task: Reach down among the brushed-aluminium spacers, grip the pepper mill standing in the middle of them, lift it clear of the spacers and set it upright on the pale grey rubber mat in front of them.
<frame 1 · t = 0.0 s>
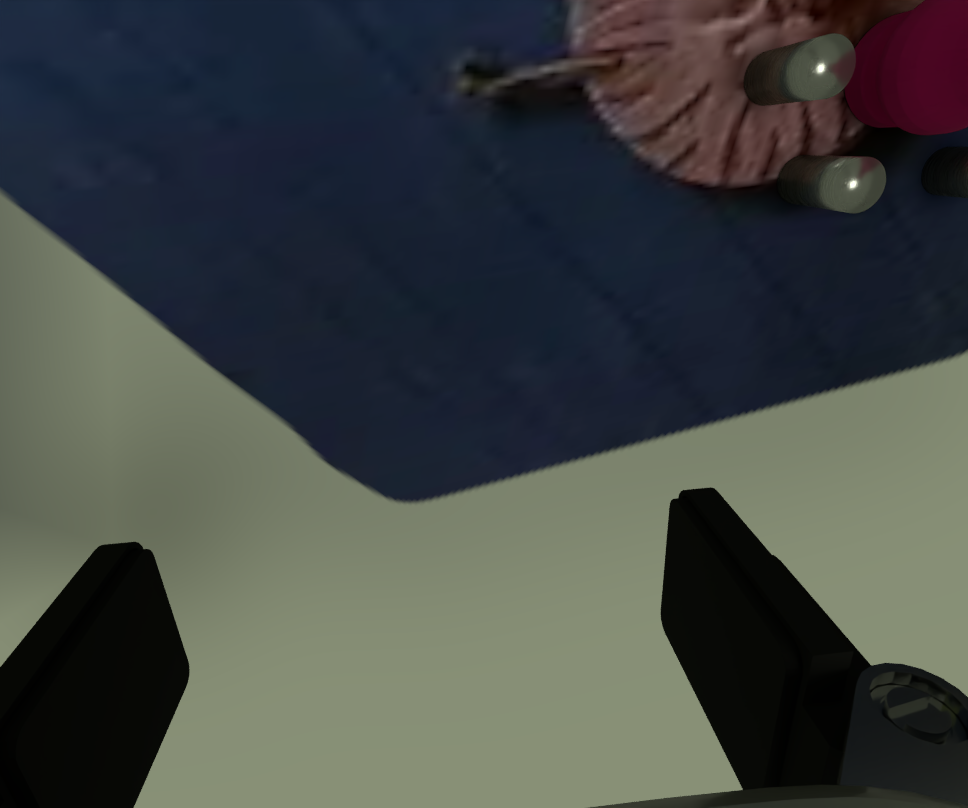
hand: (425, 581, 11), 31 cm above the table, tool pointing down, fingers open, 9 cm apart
pepper mill: (889, 72, 38), on the table
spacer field: (891, 72, 38), on the table
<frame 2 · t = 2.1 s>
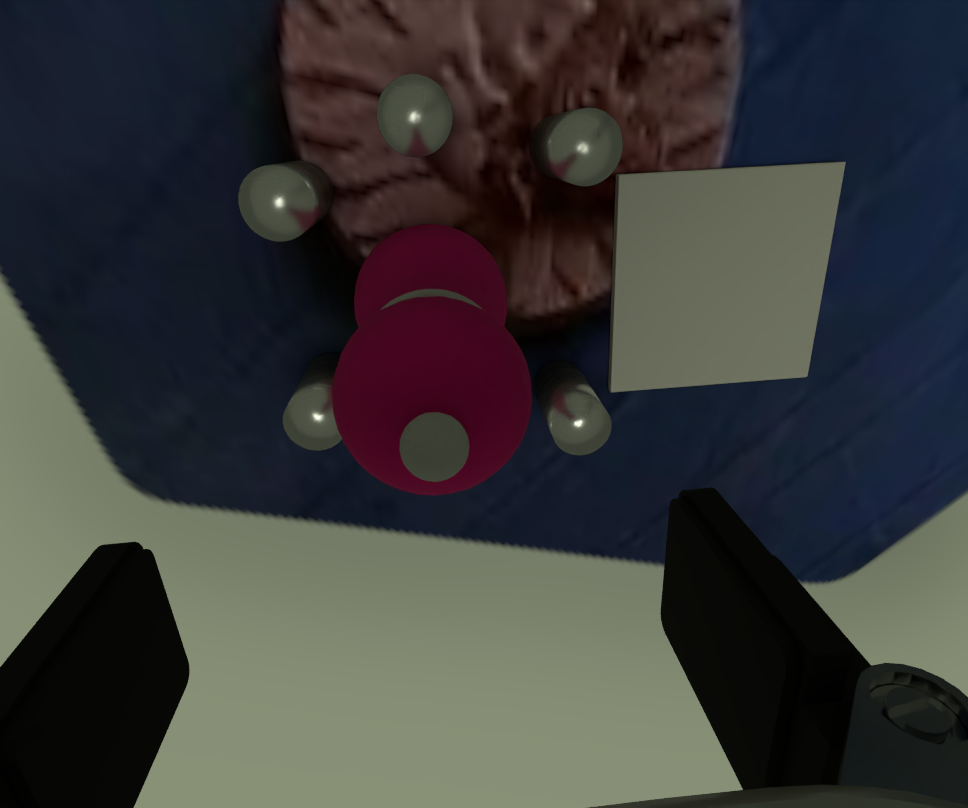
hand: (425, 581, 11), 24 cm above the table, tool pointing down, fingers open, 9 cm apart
pepper mill: (431, 282, 33), on the table
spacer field: (431, 283, 33), on the table
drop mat: (716, 281, 34), on the table
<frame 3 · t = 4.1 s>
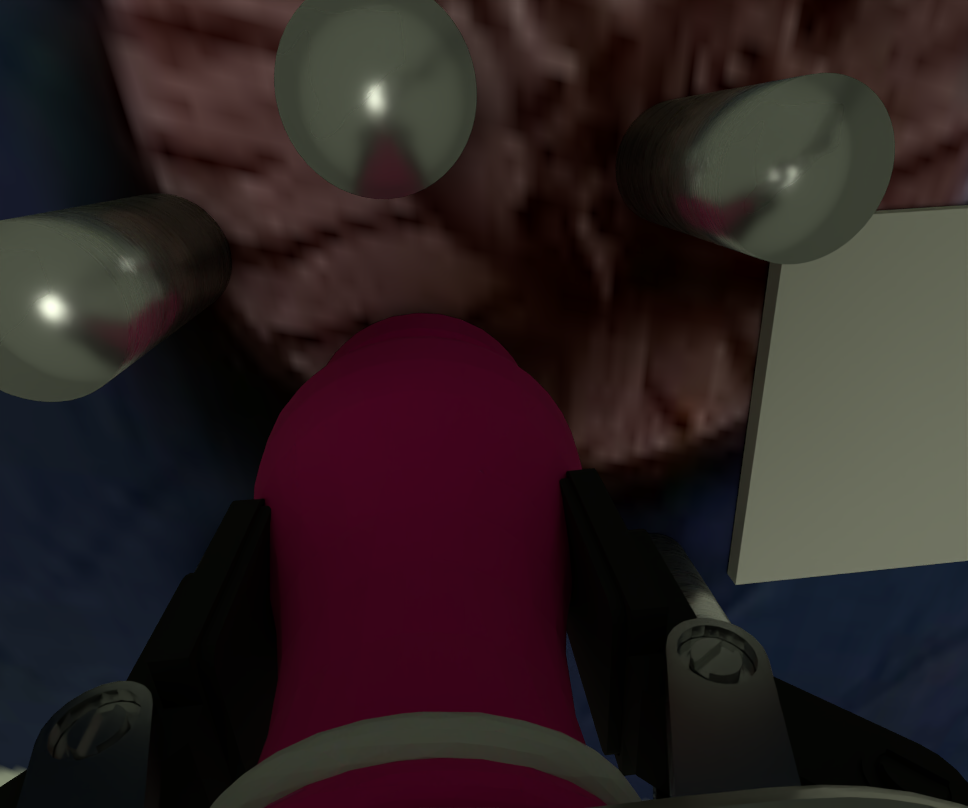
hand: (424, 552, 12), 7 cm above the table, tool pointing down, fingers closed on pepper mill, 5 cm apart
pepper mill: (424, 412, 18), on the table, touching gripper
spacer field: (423, 415, 18), on the table
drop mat: (931, 402, 19), on the table
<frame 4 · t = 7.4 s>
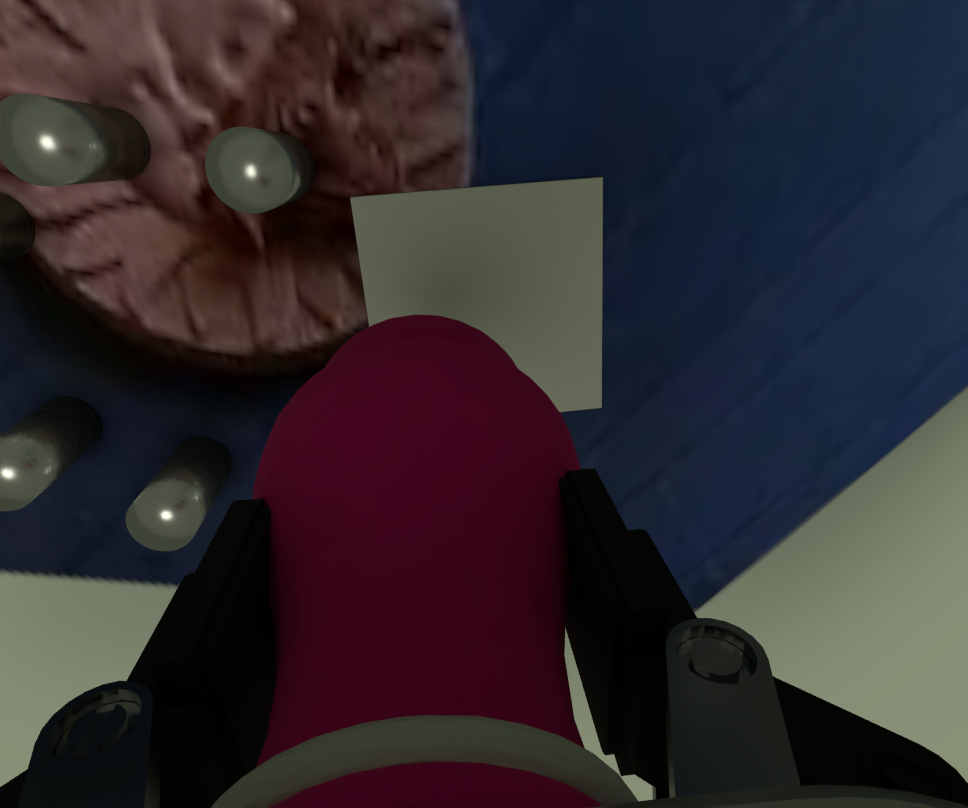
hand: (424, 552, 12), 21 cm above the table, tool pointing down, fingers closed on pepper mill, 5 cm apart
pepper mill: (423, 413, 18), point 14 cm above the table, touching gripper
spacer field: (163, 319, 30), on the table
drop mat: (485, 309, 31), on the table
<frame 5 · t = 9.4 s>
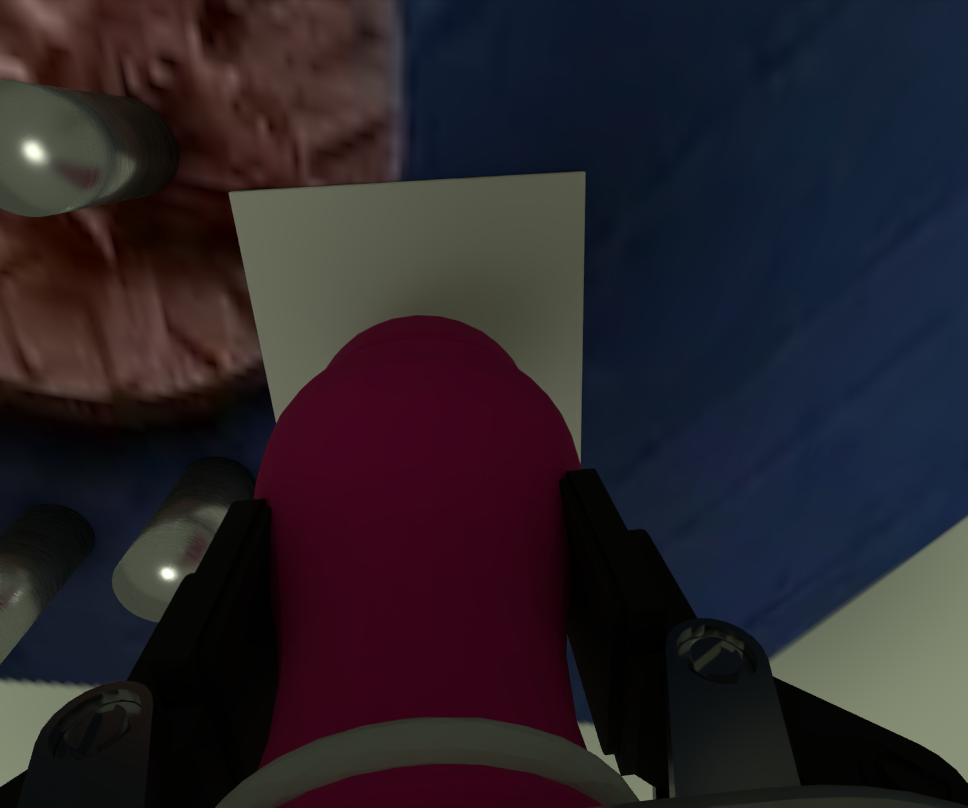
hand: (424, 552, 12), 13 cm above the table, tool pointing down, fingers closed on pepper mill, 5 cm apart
pepper mill: (423, 414, 18), point 6 cm above the table, touching gripper
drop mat: (425, 346, 23), on the table
when the fingers open (8 cm above the table, at t = 10.7 s): pepper mill drops 1 cm, resting on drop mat.
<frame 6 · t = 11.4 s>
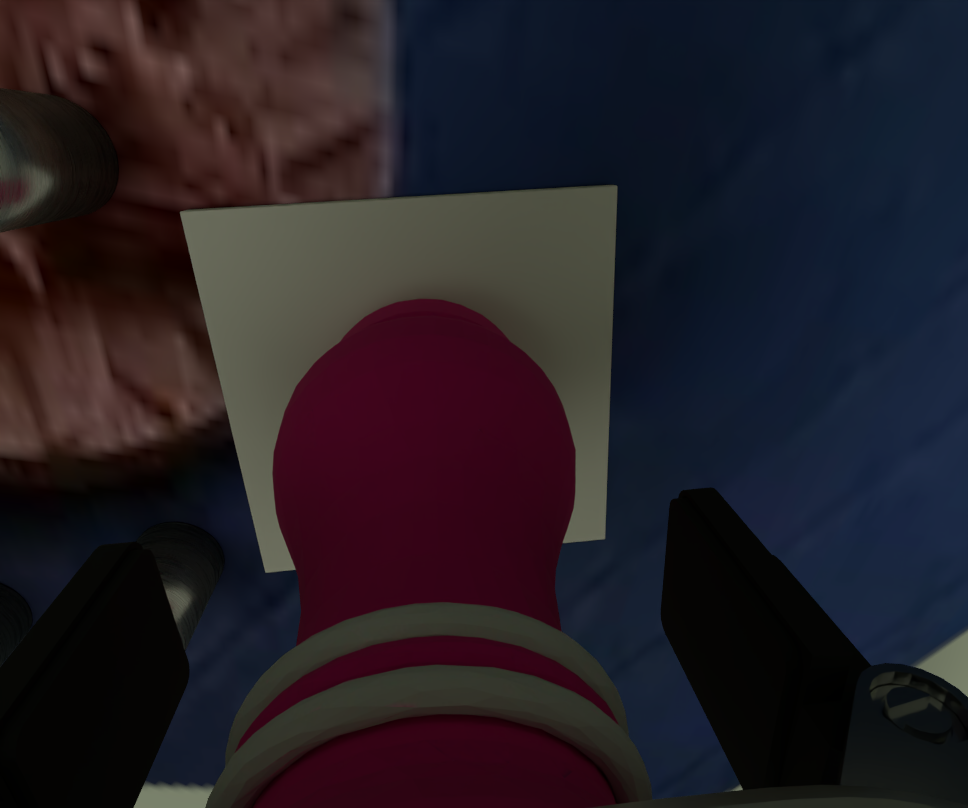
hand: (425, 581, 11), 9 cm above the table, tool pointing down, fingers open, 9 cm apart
pepper mill: (426, 393, 19), resting on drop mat
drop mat: (423, 392, 20), on the table
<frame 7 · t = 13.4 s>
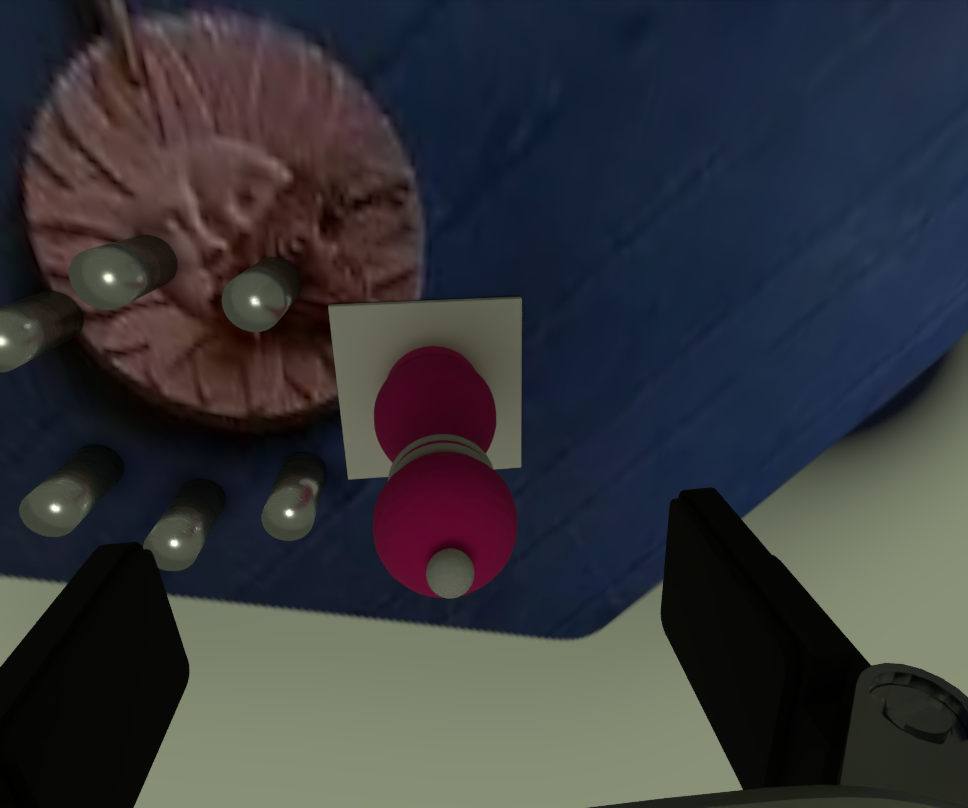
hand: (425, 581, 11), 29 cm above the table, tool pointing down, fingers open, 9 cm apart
pepper mill: (432, 389, 40), resting on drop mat
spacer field: (178, 389, 39), on the table
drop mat: (431, 389, 40), on the table
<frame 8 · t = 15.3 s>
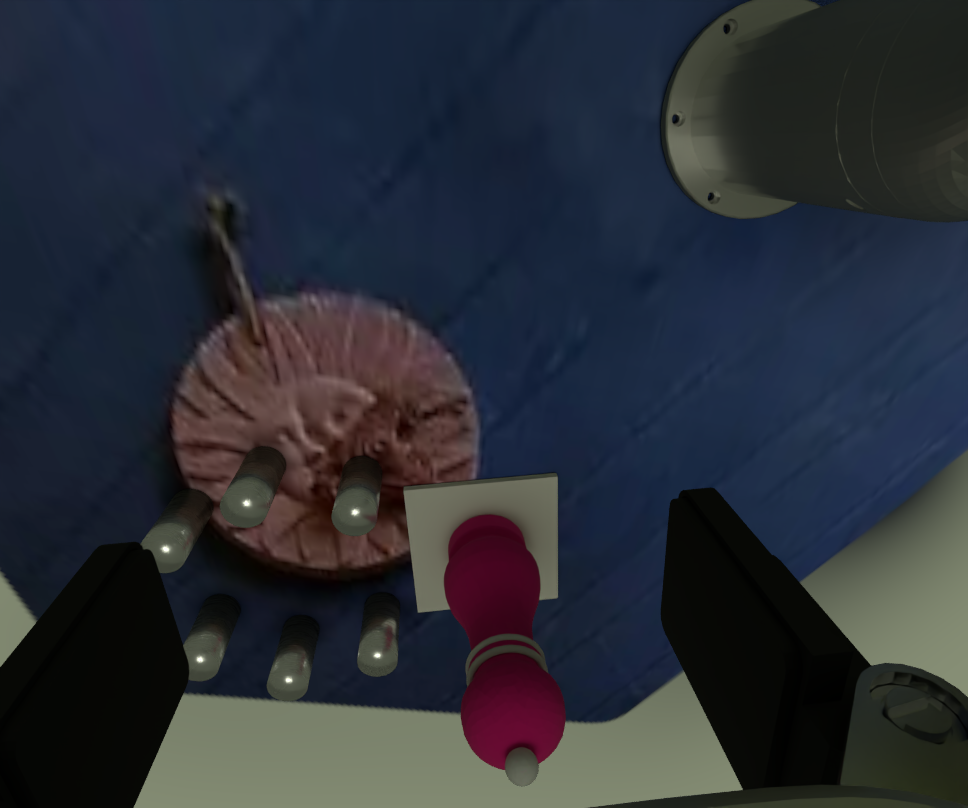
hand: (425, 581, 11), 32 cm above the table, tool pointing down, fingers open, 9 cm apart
pepper mill: (486, 544, 50), resting on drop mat
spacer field: (284, 552, 48), on the table
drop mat: (484, 542, 50), on the table
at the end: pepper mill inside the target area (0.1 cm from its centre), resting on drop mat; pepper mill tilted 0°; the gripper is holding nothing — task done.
